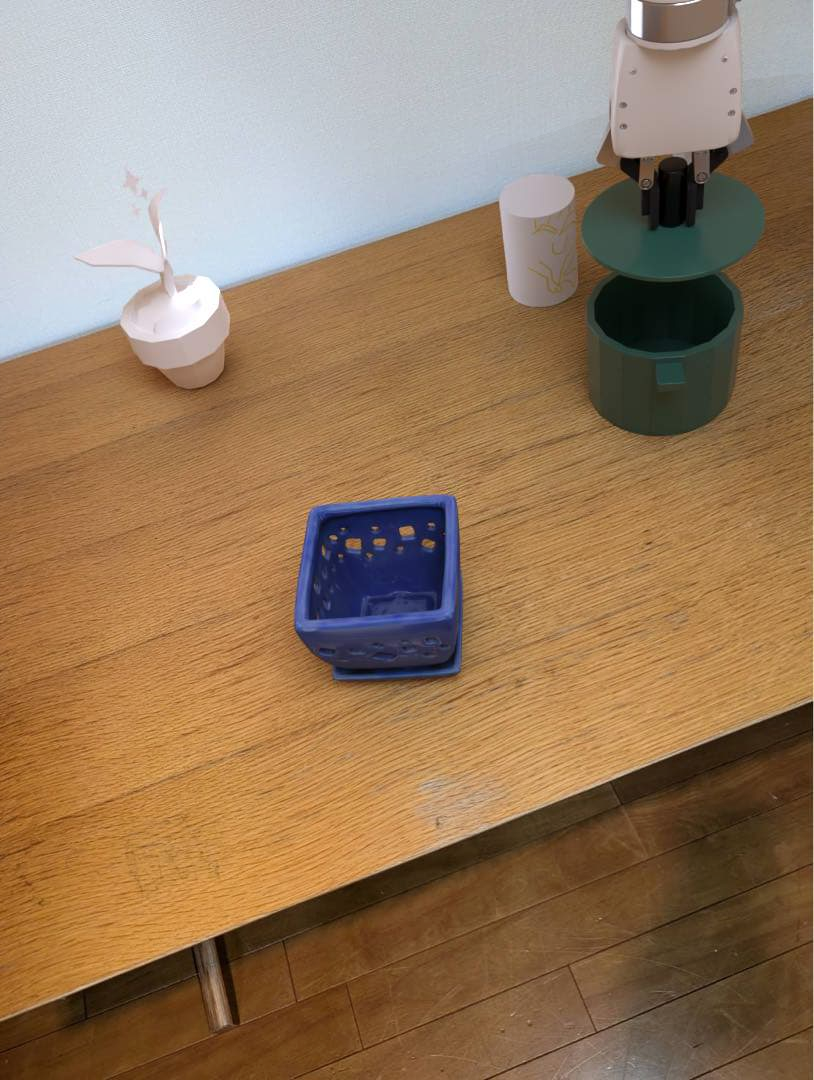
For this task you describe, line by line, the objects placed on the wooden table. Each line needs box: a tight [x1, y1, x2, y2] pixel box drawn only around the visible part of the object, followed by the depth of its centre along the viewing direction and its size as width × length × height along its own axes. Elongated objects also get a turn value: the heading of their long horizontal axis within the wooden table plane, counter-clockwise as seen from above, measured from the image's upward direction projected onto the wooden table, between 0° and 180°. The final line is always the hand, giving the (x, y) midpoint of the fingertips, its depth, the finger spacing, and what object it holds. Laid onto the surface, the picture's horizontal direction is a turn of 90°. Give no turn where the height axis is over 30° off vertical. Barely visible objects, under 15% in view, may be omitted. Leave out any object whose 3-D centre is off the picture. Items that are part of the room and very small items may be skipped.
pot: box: [585, 271, 745, 437], centre depth 99 cm, size 15×20×10 cm
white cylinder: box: [498, 172, 579, 308], centre depth 112 cm, size 8×8×12 cm
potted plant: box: [73, 166, 231, 390], centre depth 107 cm, size 13×12×25 cm
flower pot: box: [293, 494, 464, 682], centre depth 85 cm, size 13×13×12 cm
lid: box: [580, 156, 766, 282], centre depth 86 cm, size 16×16×7 cm
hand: (671, 216), depth 87 cm, fingers closed on lid, 2 cm apart
